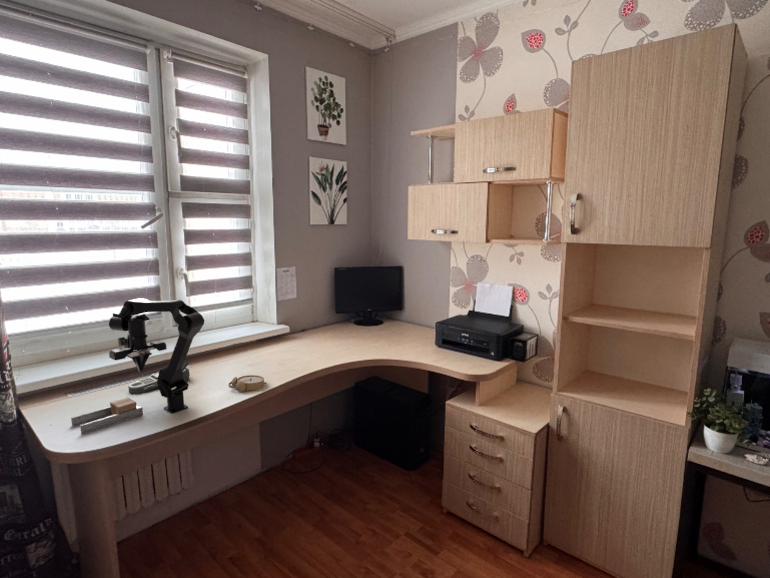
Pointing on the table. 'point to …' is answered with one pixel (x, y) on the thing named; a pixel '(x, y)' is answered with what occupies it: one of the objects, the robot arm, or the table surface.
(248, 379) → the alarm clock
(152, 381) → the communication device
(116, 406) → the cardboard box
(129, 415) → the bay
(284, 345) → the table surface
